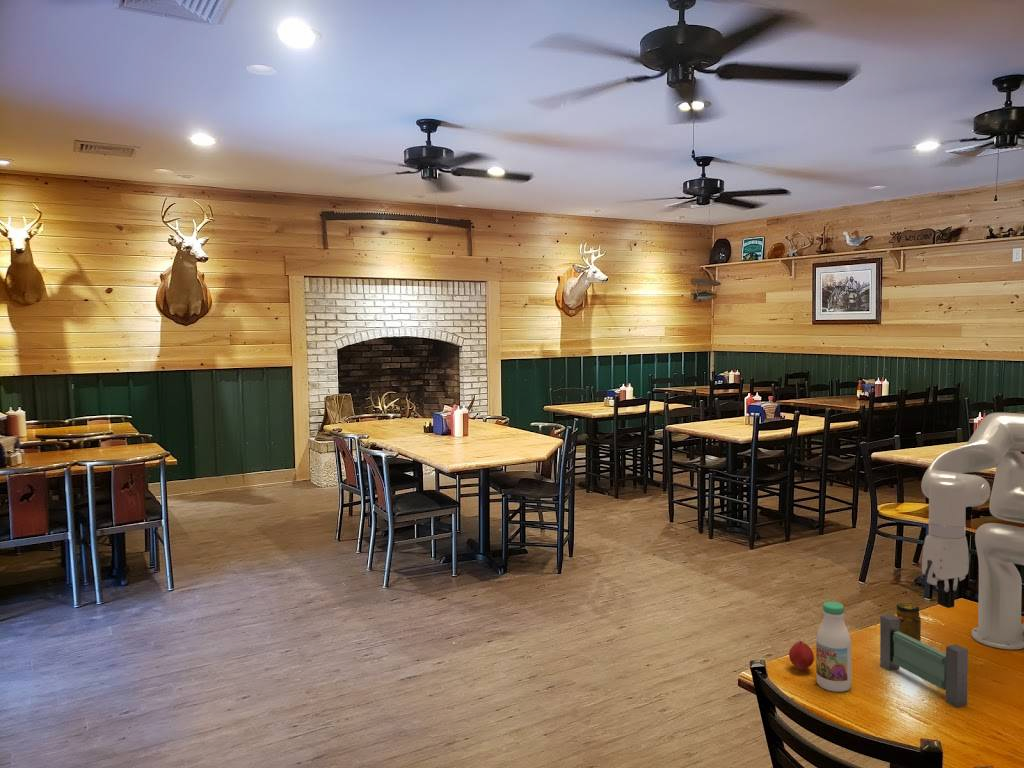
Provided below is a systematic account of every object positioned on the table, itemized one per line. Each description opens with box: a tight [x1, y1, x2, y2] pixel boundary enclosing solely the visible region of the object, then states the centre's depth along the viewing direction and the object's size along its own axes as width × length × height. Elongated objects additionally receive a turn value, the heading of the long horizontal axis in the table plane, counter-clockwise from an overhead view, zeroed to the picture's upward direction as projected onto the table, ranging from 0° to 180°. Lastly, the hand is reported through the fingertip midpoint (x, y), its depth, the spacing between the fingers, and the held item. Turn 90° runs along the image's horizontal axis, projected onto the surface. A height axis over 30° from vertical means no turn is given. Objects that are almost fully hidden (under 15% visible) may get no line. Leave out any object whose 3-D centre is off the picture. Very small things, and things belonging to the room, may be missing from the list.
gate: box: [893, 631, 946, 691], centre depth 175 cm, size 14×2×8 cm, turn 18°
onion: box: [788, 639, 815, 672], centre depth 185 cm, size 6×6×8 cm
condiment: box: [894, 602, 922, 642], centre depth 193 cm, size 7×8×12 cm
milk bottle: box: [815, 601, 852, 693], centre depth 176 cm, size 8×8×20 cm
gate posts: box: [879, 613, 969, 708], centre depth 175 cm, size 3×22×13 cm, turn 18°
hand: (945, 605), depth 176 cm, fingers closed
